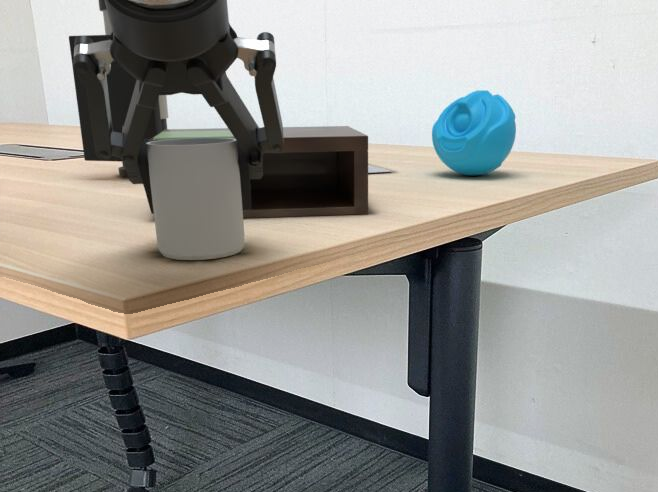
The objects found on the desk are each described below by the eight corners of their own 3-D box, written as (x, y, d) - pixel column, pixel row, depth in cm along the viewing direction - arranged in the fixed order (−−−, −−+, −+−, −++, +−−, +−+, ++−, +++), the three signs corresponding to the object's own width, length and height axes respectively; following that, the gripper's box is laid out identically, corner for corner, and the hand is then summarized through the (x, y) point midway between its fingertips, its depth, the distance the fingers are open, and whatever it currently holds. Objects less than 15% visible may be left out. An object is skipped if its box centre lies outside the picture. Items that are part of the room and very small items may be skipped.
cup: (173, 265, 58) (160, 147, 55) (140, 243, 66) (127, 139, 63) (258, 253, 61) (251, 141, 58) (217, 233, 70) (208, 134, 67)
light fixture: (196, 172, 114) (182, -6, 106) (161, 182, 104) (142, -13, 96) (127, 170, 118) (108, -2, 109) (86, 179, 108) (61, -10, 99)
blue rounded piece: (416, 175, 108) (418, 91, 104) (462, 168, 116) (465, 89, 112) (486, 182, 101) (491, 91, 97) (530, 174, 108) (536, 89, 104)
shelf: (156, 220, 76) (147, 138, 74) (170, 197, 91) (164, 127, 88) (368, 214, 79) (368, 133, 76) (348, 192, 94) (348, 124, 91)
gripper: (-19, 17, 42) (82, 240, 63) (332, 12, 45) (318, 229, 65) (-6, -72, 46) (86, 169, 66) (321, -72, 48) (311, 161, 69)
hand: (201, 198), depth 66 cm, fingers closed on cup, 7 cm apart
